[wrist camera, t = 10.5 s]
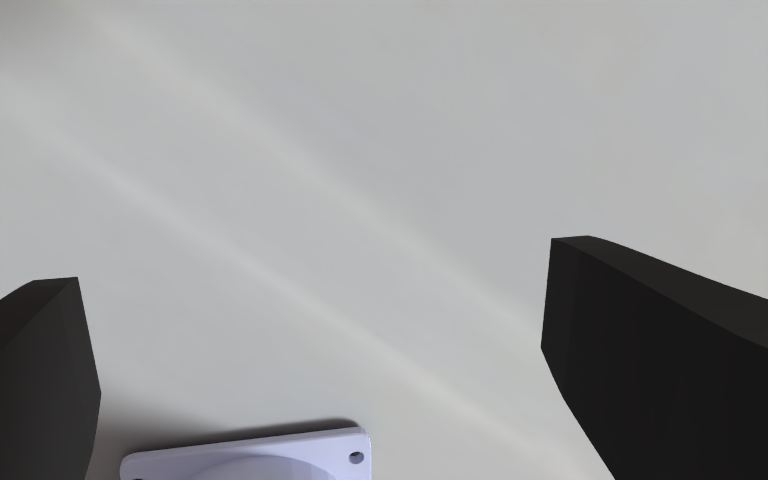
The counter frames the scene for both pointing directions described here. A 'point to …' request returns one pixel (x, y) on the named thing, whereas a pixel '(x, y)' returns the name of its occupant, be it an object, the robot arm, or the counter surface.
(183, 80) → the counter surface
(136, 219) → the counter surface
